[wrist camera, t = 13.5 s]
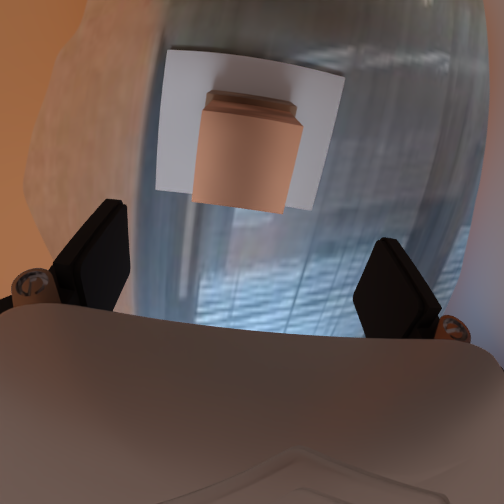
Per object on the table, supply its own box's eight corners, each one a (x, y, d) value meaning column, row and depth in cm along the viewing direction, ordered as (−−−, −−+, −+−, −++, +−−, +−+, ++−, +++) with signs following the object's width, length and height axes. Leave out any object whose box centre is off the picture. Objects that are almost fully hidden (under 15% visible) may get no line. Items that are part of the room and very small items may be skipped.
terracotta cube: (289, 112, 22) (303, 126, 17) (274, 181, 25) (282, 214, 20) (212, 99, 21) (202, 110, 16) (202, 170, 24) (191, 201, 20)
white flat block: (342, 77, 24) (360, 80, 20) (309, 206, 32) (319, 230, 28) (170, 50, 23) (155, 47, 18) (158, 186, 30) (144, 207, 26)
